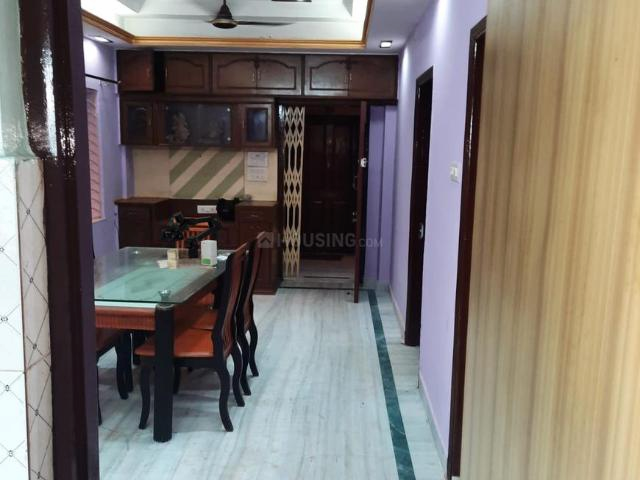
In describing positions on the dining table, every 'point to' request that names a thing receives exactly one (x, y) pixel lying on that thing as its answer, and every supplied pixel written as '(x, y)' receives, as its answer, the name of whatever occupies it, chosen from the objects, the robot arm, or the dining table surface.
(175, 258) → the maple pillar block
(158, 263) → the off-white base block
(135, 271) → the dining table surface
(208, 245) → the skincare box
